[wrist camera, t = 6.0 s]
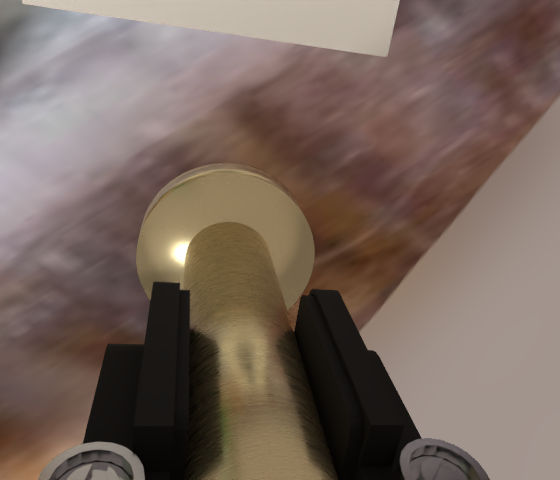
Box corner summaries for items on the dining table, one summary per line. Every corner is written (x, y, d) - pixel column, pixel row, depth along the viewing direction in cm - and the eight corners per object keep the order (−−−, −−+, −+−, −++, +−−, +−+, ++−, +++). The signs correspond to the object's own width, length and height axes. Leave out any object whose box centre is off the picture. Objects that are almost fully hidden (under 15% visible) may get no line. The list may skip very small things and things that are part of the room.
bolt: (293, 316, 17) (508, 995, 5) (137, 310, 16) (-8, 1126, 4) (319, 171, 15) (749, 758, 3) (142, 154, 14) (-94, 899, 2)
